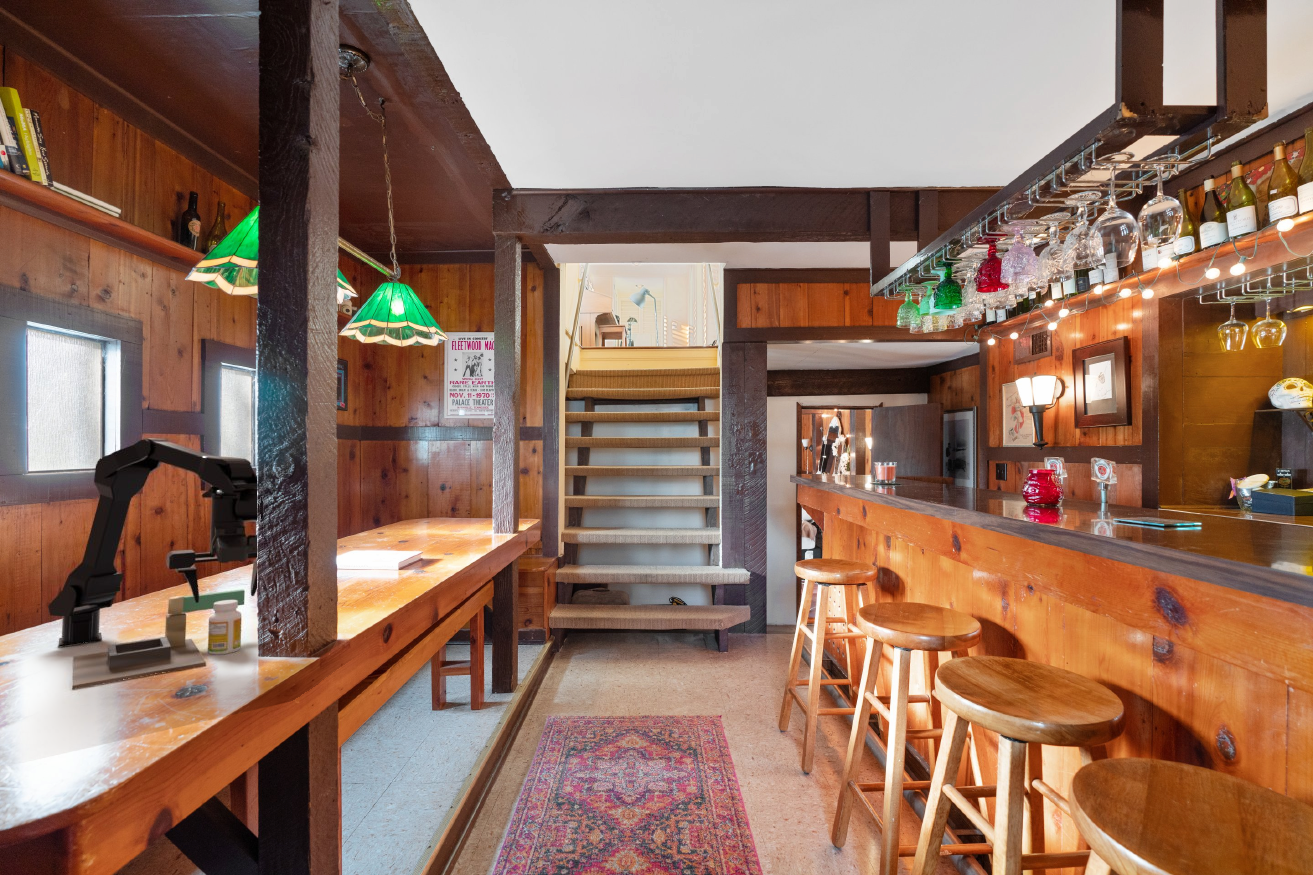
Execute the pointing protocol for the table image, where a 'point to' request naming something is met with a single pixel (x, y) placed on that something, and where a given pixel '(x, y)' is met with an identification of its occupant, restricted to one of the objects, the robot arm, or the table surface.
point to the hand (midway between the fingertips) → (225, 599)
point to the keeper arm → (202, 601)
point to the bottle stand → (139, 657)
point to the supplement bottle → (224, 628)
